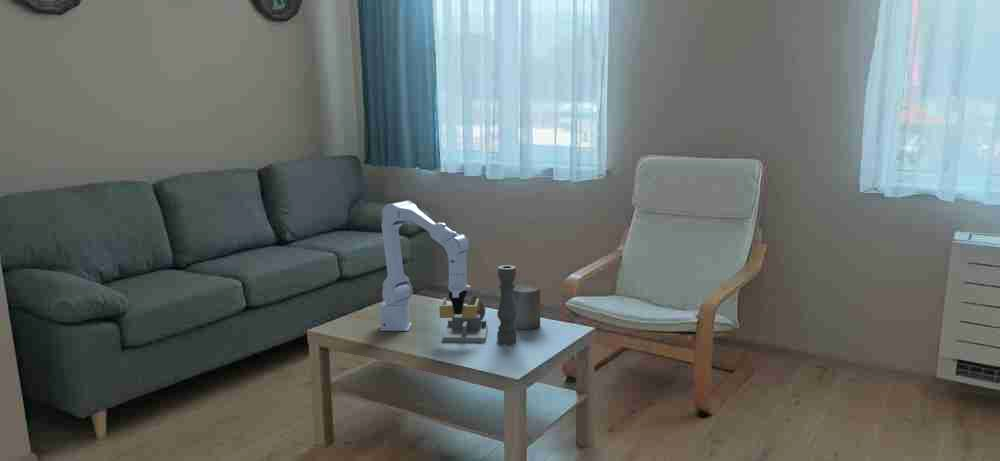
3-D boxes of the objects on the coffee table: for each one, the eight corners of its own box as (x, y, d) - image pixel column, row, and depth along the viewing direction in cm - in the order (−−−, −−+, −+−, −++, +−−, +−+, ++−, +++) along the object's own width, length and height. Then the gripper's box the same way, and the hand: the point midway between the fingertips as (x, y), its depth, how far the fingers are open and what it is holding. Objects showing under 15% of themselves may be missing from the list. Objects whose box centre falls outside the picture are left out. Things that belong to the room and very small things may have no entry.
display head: (485, 342, 247) (485, 324, 246) (442, 341, 248) (442, 324, 246) (487, 329, 260) (487, 312, 259) (447, 329, 260) (446, 312, 259)
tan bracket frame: (476, 318, 246) (476, 306, 245) (439, 317, 246) (439, 306, 246) (479, 309, 257) (479, 297, 256) (444, 308, 258) (443, 297, 257)
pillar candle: (539, 321, 269) (538, 280, 266) (541, 329, 259) (541, 287, 256) (511, 322, 268) (511, 280, 266) (512, 330, 259) (512, 288, 256)
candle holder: (502, 346, 243) (502, 270, 239) (494, 340, 249) (493, 266, 244) (519, 343, 246) (520, 268, 241) (510, 337, 252) (510, 264, 247)
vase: (486, 317, 274) (486, 293, 272) (484, 323, 267) (484, 299, 265) (467, 316, 274) (467, 293, 273) (464, 322, 268) (464, 298, 266)
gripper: (467, 278, 237) (468, 320, 239) (472, 267, 251) (472, 306, 254) (445, 278, 237) (446, 319, 240) (450, 267, 251) (451, 306, 254)
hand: (458, 313), depth 247 cm, fingers closed on tan bracket frame, 2 cm apart
